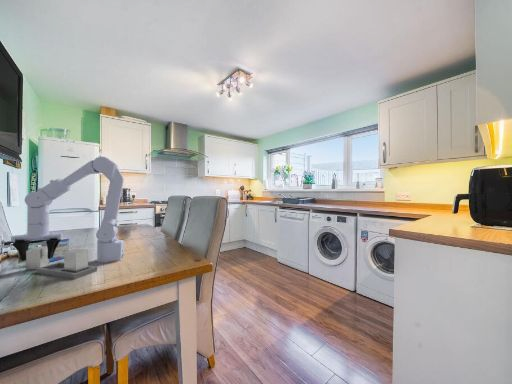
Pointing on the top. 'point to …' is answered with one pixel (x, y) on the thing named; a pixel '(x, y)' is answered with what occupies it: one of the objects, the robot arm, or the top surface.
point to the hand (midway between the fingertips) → (37, 258)
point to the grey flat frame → (58, 270)
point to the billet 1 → (37, 257)
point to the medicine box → (59, 249)
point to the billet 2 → (75, 260)
